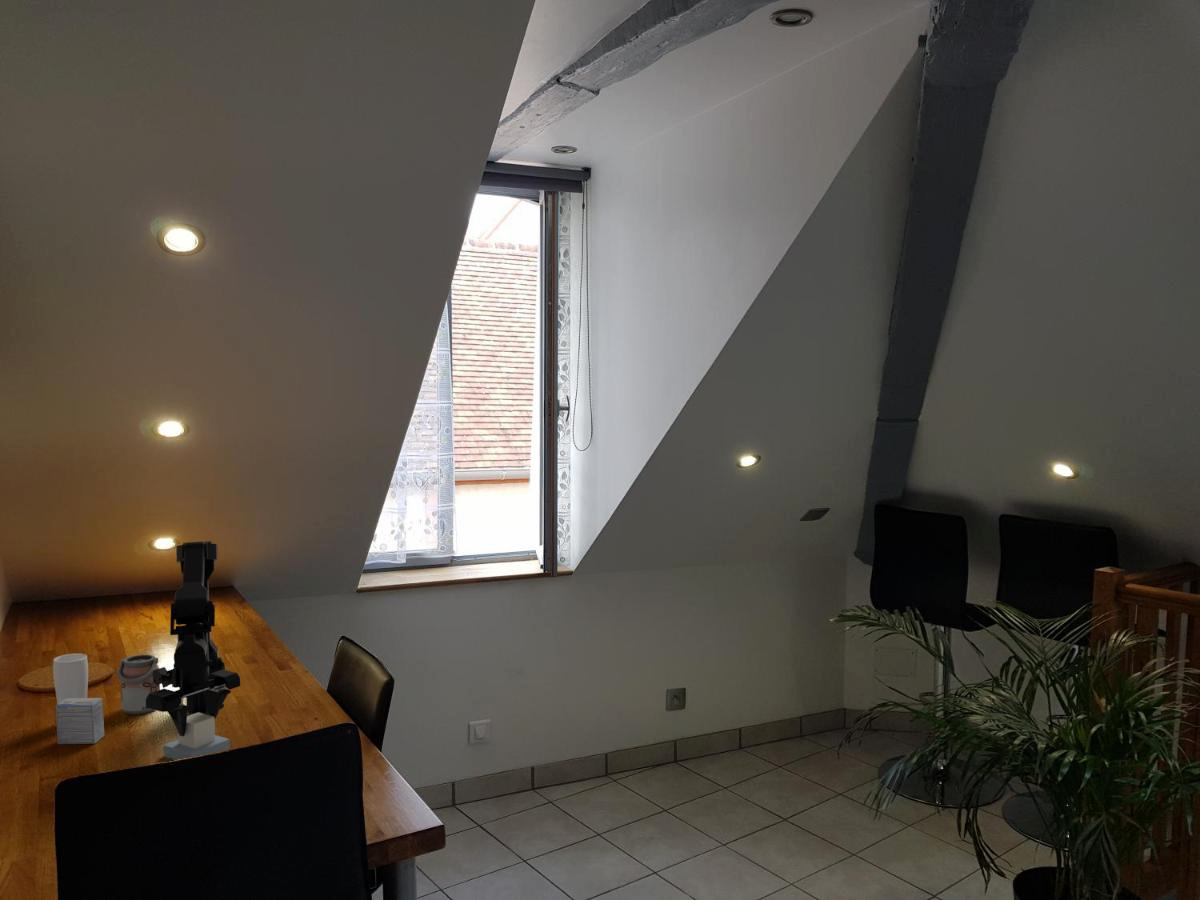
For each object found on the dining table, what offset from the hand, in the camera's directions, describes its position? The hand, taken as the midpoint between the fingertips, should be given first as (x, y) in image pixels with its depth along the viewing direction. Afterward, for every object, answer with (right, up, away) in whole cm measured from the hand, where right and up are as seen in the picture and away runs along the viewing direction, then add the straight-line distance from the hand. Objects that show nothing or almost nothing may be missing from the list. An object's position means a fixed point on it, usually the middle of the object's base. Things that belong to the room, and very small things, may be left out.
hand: (196, 730), depth 202 cm
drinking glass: (-34, -4, +17) cm, 38 cm away
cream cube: (0, -2, 0) cm, 2 cm away
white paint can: (-23, -3, +26) cm, 35 cm away
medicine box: (-27, -4, +7) cm, 29 cm away
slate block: (0, -5, 0) cm, 5 cm away
